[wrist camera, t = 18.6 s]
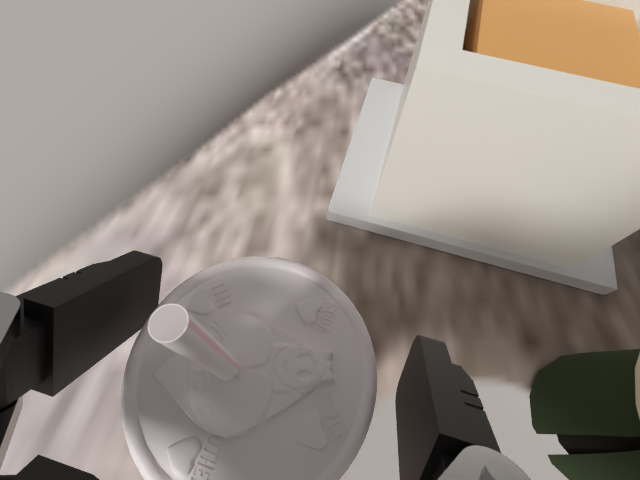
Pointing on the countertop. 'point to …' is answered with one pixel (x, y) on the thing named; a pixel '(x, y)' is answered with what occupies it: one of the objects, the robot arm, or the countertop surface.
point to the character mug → (591, 413)
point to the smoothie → (250, 377)
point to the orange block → (559, 37)
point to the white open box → (497, 159)
